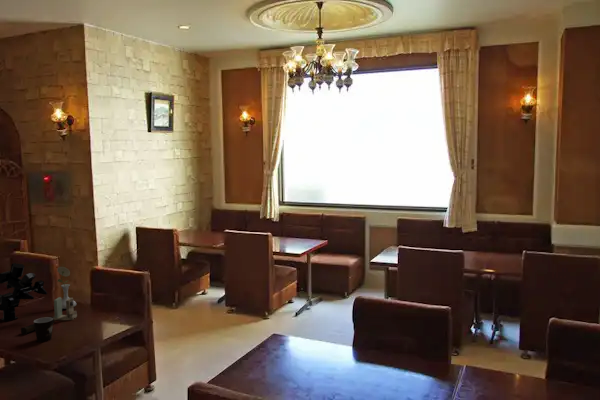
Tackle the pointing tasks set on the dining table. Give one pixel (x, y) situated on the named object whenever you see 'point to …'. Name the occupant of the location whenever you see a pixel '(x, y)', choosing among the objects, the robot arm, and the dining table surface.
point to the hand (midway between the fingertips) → (40, 295)
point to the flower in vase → (65, 286)
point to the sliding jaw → (58, 307)
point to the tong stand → (68, 311)
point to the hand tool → (29, 328)
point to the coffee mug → (43, 328)
